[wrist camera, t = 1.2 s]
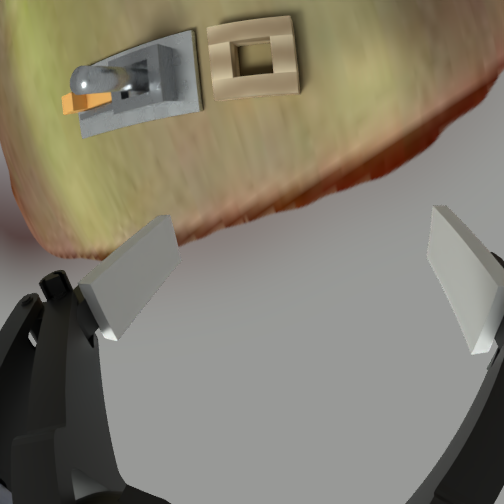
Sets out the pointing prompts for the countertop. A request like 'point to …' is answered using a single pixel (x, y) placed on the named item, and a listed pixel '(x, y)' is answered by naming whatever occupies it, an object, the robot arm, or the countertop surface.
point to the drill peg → (108, 79)
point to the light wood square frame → (249, 33)
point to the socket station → (151, 85)
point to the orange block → (84, 102)
